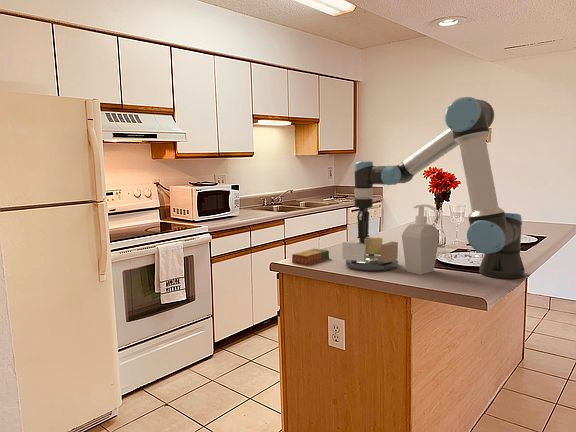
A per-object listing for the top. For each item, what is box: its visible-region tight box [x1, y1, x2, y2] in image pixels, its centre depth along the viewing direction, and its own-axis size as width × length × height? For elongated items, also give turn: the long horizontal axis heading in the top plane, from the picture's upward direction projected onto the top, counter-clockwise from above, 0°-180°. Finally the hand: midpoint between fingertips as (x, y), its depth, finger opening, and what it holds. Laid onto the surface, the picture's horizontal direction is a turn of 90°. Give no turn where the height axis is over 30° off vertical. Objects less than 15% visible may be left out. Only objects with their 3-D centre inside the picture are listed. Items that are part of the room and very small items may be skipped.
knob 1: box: [341, 241, 367, 262], centre depth 179 cm, size 9×3×8 cm, turn 64°
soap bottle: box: [401, 203, 440, 275], centre depth 170 cm, size 12×10×26 cm
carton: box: [291, 248, 330, 266], centre depth 194 cm, size 8×16×4 cm, turn 140°
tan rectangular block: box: [380, 241, 399, 263], centre depth 177 cm, size 9×3×8 cm, turn 140°
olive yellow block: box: [365, 236, 383, 256], centre depth 190 cm, size 9×3×8 cm, turn 74°
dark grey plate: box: [345, 254, 399, 273], centre depth 183 cm, size 21×21×3 cm
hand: (363, 252), depth 191 cm, fingers closed on olive yellow block, 2 cm apart
